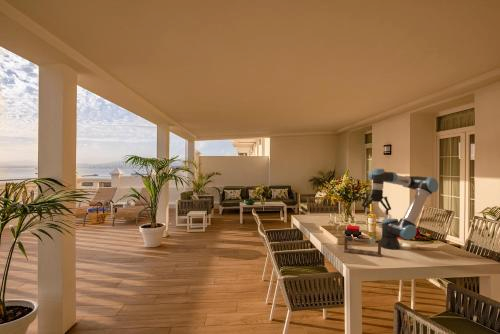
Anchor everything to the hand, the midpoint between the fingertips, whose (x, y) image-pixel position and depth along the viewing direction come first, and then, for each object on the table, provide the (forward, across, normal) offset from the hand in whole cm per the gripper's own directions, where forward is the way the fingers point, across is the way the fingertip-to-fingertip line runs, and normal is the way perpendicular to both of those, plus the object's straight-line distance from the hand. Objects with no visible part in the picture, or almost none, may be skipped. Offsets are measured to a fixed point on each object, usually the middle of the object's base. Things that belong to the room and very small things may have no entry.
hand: (375, 217), depth 221 cm
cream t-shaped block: (+20, -1, +2) cm, 20 cm away
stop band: (+21, -14, 0) cm, 25 cm away
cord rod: (+20, -8, +1) cm, 22 cm away
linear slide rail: (+29, -8, +1) cm, 30 cm away
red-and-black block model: (+28, -25, +43) cm, 57 cm away
